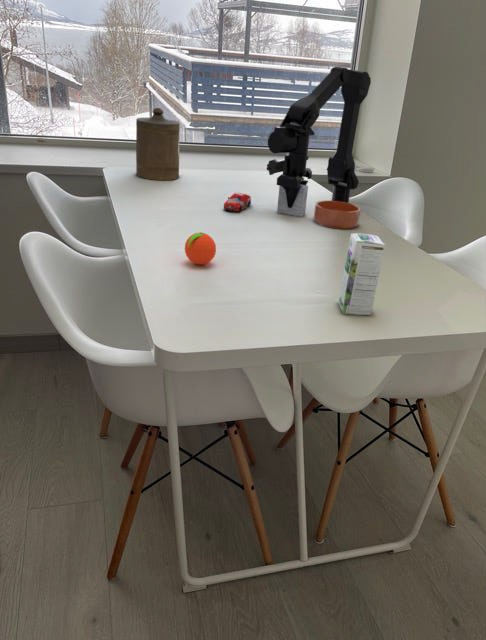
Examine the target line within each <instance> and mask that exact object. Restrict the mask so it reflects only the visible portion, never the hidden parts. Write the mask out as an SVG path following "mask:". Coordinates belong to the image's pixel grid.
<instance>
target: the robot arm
mask: <svg viewBox="0 0 486 640" xmlns="http://www.w3.org/2000/svg"><path fill="white" fill-rule="evenodd" d="M371 83H372V79H371V76H370V74H369V72H367V71H364V70H355V69H349V68H348V67H343V66H334V67H332V68H331V69H330V71H329V73H327V75H326V76H325V77H324V78H323V79H322V80H321V82H319V83H318V85H316V87H314V89H312V91H311V92H310V93H309V94H308V95H306V96H304V97H301V98H298V99H297V100H296V101H294V102H293V103H291V104H290V106H289V107H288V110H287V112H286V114H285V116H284V118H283V119H282V122H281V123H280V125H279V126H274V129H273V131H272V132H271V133H270V134H269V136H268V138H267V147H268V149H269V151H270V152H271V153H273V154H285V155H284V158H283V159H279V160H277V159H275V158H274V159H269V160H268V163H266V171H268V174H269V176H273V175H274V174H278V173H281V174H280V175H279V176H277V177H276V186H278V187H279V186H282V187H283V188H284V189H285V192H286V197H287V204H288V208H292V206H293V204H294V202H295V200H296V198H297V195H298V193H299V191H300V189H301V187H302V186H300V184H301V185H307V186H308V183H309V180H311V179H312V176H313V171H312V169H311V168H310V167H307V161H308V160H309V158H310V156H309V155H308V153H309V144H310V136H315V131H314V130H313V129H312V127H313V126H314V124H315V123H316V121H317V120H318V119H319V117H320V111H321V110H322V108H323V106H325V105H326V103H327V102H329V100H331V98H332V97H334V95H335V94H336V93H337V92H338V90H339V89H340V93H341V97H342V100H343V108H342V115H341V120H340V127H339V133H338V139H337V145H336V150H335V151H336V152H335V153H334V155H332V156H330V157H329V158H328V160H327V168H326V171H327V172H326V173H327V183H328V185H331V186H333V189H332V195H331V201H340V202H346V203H350V204H352V203H351V202H350V196H351V190H356V189H357V188H358V186H359V184H360V183H359V182H360V181H359V179H358V177H357V175H356V172H355V170H356V169H355V168H356V163H355V159H354V156H353V150H354V143H355V137H356V132H357V127H358V121H359V115H360V111H361V110H360V109H361V105H362V103H363V102H364V100H365V99H366V98H367V97H368V93H369V90H370V87H371ZM305 178H307V180H306V179H305Z"/></svg>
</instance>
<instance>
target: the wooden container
mask: <svg viewBox="0 0 486 640" xmlns="http://www.w3.org/2000/svg"><path fill="white" fill-rule="evenodd" d="M152 113H153V115H152V116H151V117H147V116H146V117H138V118H136V119H135V120H136V122H135V124H136V126H135V127H136V130H135V133H136V135H135V138H136V139H135V140H136V141H135V160H136V161H135V164H136V165H135V167H136V168H135V169H136V175H137V177H140V178H143V179H147V180H153V181H173V180H174V181H175V180H176V179H179V177H180V128H181V126H180V125H181V124H180V121H178V120H176V119H175V120H174V119H169V118H165V116H164V115H163V114H164V110H163V109H162V108H161V107H155V108H153V110H152Z"/></svg>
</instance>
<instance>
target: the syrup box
mask: <svg viewBox="0 0 486 640" xmlns="http://www.w3.org/2000/svg"><path fill="white" fill-rule="evenodd" d="M385 249H386V243H384V242H383V241H382V239H381V238H380V237H379V236H378V235H375V234H368V233H350V238H349V243H348V249H347V254H346V258H345V265H344V271H343V275H342V281H341V286H340V291H339V297H338V306H339V307H340V310H341V312H342V313H343V314H344V315H357V316H358V315H360V316H371V314H372V310H373V306H374V301H375V298H376V297H375V296H376V293H377V286H378V282H379V277H380V273H381V267H382V263H383V260H384V259H383V258H384V254H385Z"/></svg>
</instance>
